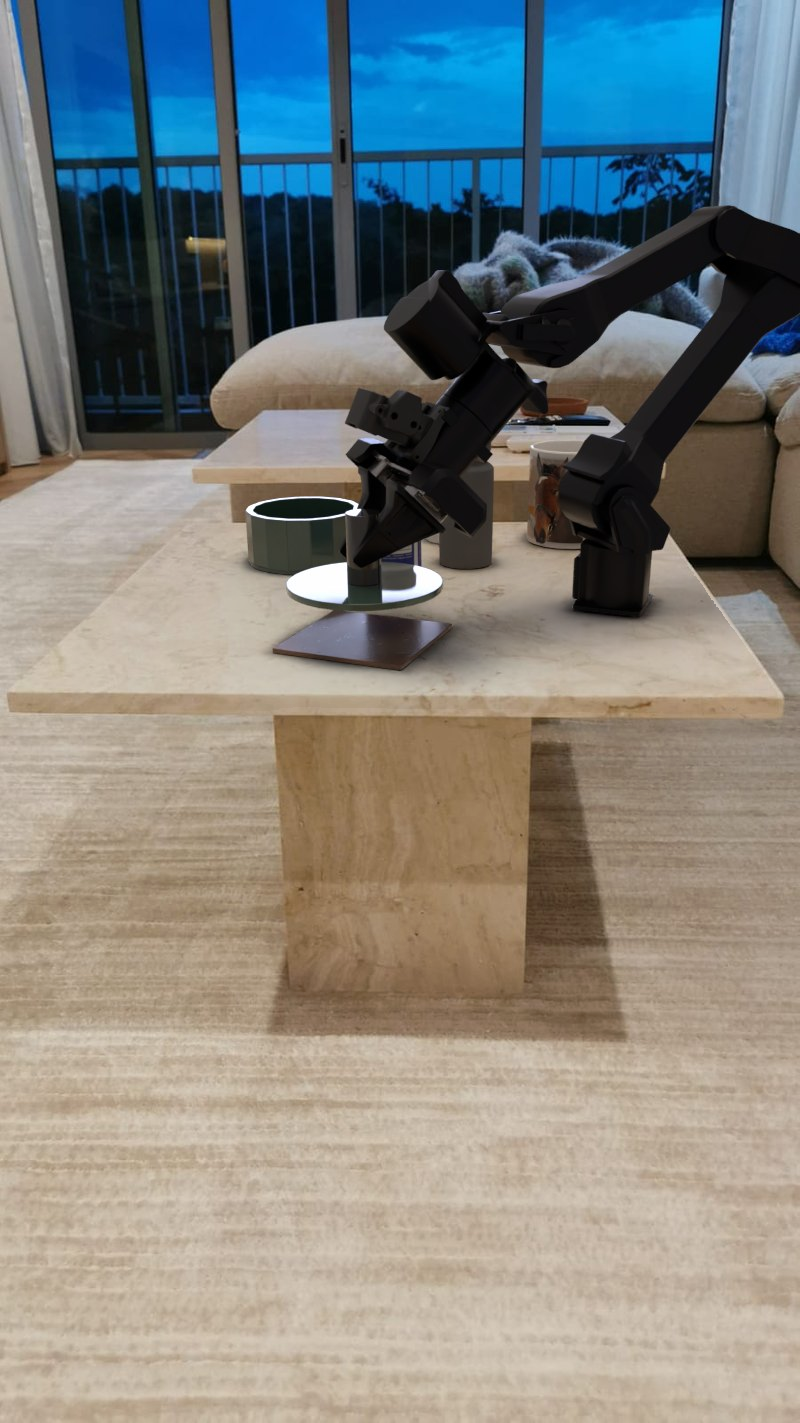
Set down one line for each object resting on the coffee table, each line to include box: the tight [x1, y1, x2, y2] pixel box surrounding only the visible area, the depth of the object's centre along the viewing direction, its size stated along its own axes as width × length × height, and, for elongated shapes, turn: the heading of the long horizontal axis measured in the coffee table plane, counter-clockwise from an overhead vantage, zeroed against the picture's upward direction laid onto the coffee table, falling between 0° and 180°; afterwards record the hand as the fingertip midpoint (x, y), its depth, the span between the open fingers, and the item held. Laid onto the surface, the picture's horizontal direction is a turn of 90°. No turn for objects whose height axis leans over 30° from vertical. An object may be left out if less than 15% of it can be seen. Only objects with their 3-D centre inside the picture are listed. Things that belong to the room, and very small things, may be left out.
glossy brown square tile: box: [272, 610, 453, 671], centre depth 95 cm, size 12×12×1 cm
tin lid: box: [285, 509, 444, 612], centre depth 92 cm, size 14×14×7 cm
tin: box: [244, 496, 359, 576], centre depth 120 cm, size 13×13×6 cm
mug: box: [526, 439, 586, 550], centre depth 125 cm, size 10×12×11 cm
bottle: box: [438, 442, 495, 570], centre depth 116 cm, size 6×6×15 cm
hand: (349, 559), depth 92 cm, fingers closed on tin lid, 3 cm apart
